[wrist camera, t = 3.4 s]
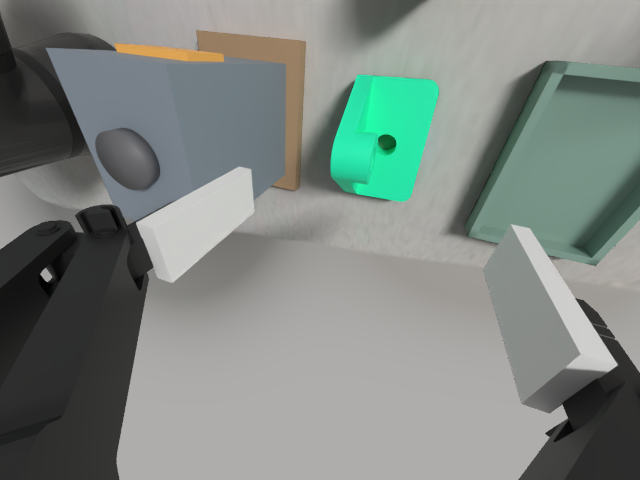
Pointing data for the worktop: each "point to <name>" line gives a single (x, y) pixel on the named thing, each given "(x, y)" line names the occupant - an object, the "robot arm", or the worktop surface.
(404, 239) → the worktop surface
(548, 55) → the worktop surface
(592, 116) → the parts tray
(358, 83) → the camera mount
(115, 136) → the mounted unit
